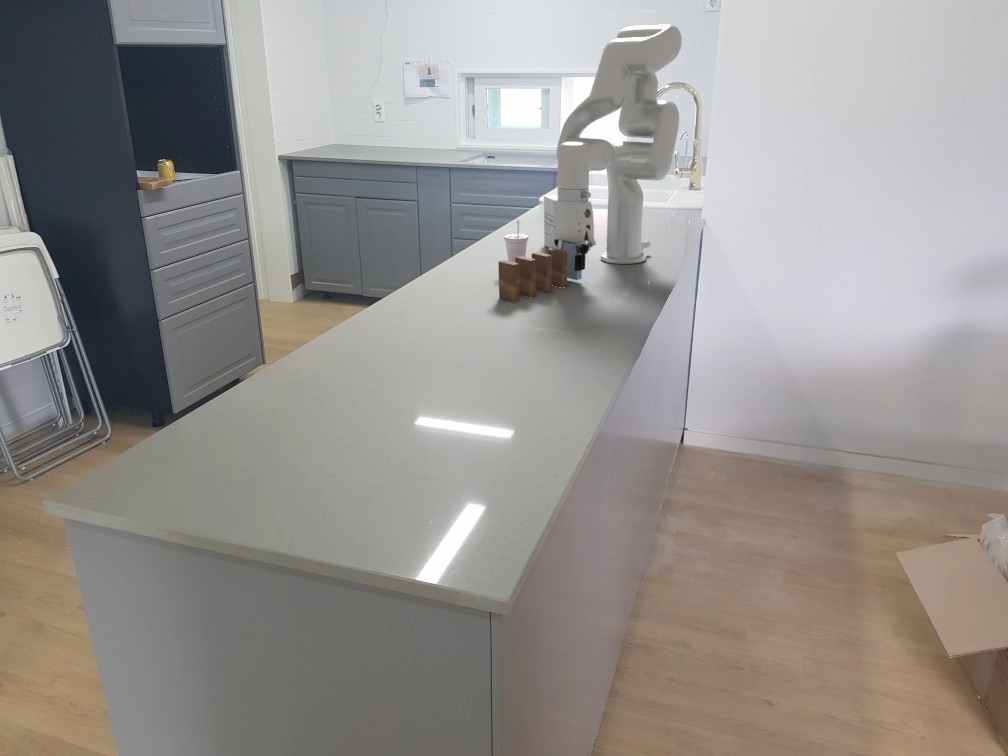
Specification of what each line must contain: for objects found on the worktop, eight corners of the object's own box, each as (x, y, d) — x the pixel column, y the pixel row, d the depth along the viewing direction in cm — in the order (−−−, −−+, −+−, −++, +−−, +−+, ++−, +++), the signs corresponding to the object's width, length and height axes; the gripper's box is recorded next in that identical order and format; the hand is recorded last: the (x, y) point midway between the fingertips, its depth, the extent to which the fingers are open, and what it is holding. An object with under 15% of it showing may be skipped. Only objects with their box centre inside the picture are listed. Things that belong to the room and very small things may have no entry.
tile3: (537, 287, 194) (536, 252, 190) (551, 291, 190) (551, 255, 187) (531, 289, 193) (531, 253, 189) (546, 293, 189) (546, 256, 186)
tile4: (521, 292, 190) (520, 256, 187) (535, 296, 187) (535, 259, 184) (515, 293, 189) (515, 257, 186) (530, 297, 186) (530, 260, 182)
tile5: (504, 297, 187) (504, 260, 183) (519, 301, 183) (518, 263, 180) (499, 298, 186) (498, 261, 182) (513, 302, 182) (513, 265, 179)
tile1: (566, 275, 200) (567, 240, 197) (581, 278, 197) (582, 243, 193) (562, 276, 199) (562, 241, 196) (576, 280, 196) (577, 244, 192)
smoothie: (526, 275, 205) (525, 222, 199) (502, 275, 206) (501, 221, 200) (530, 269, 210) (530, 217, 205) (507, 268, 212) (506, 217, 206)
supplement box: (570, 242, 240) (571, 193, 234) (582, 248, 232) (583, 197, 226) (543, 245, 237) (543, 195, 231) (554, 251, 229) (554, 200, 224)
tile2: (552, 283, 197) (552, 248, 194) (566, 287, 194) (567, 251, 190) (547, 284, 196) (547, 249, 193) (562, 288, 193) (562, 252, 189)
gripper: (609, 196, 187) (607, 271, 194) (558, 189, 198) (557, 260, 205) (589, 200, 182) (587, 277, 189) (537, 193, 194) (537, 265, 201)
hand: (572, 267), depth 197 cm, fingers closed on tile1, 4 cm apart
